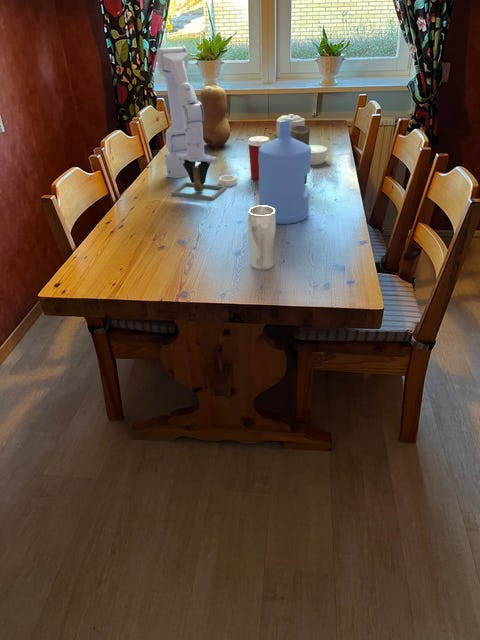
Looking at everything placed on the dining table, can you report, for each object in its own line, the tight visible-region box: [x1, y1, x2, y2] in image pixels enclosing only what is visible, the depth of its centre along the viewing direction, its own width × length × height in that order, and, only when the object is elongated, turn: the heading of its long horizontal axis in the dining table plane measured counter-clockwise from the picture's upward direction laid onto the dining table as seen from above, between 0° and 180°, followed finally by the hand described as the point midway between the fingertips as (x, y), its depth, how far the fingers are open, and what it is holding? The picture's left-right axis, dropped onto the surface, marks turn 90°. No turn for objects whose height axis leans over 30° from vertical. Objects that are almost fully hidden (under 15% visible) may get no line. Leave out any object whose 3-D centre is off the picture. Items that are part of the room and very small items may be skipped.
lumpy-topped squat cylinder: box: [276, 113, 306, 138], centre depth 234 cm, size 10×13×9 cm
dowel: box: [193, 165, 205, 193], centre depth 171 cm, size 3×3×8 cm
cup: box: [218, 174, 238, 187], centre depth 181 cm, size 6×6×3 cm
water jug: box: [258, 121, 311, 225], centre depth 149 cm, size 16×16×28 cm
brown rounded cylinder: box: [290, 125, 311, 185], centre depth 173 cm, size 8×7×20 cm
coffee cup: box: [247, 135, 271, 182], centre depth 181 cm, size 8×8×15 cm
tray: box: [171, 181, 227, 201], centre depth 174 cm, size 16×11×2 cm
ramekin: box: [309, 144, 329, 166], centre depth 200 cm, size 11×11×5 cm
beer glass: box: [247, 205, 277, 271], centre depth 126 cm, size 7×7×15 cm
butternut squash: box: [200, 85, 231, 149], centre depth 218 cm, size 14×13×25 cm
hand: (198, 182), depth 172 cm, fingers closed on dowel, 3 cm apart
